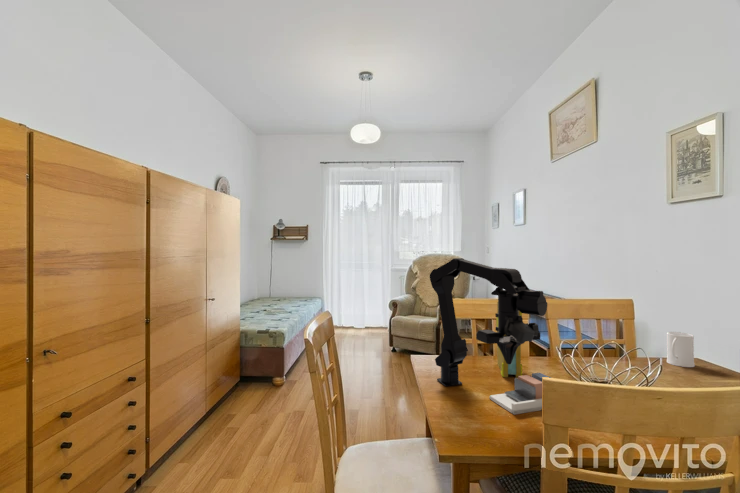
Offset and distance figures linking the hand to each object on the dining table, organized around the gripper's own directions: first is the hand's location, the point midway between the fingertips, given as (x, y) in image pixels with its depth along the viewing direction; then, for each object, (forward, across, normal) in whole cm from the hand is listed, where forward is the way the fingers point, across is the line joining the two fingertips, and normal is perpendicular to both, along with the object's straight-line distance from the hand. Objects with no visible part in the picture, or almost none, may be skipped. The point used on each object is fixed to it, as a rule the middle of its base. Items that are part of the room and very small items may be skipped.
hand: (508, 363), depth 105 cm
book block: (+11, +8, 0) cm, 13 cm away
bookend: (+11, +4, 0) cm, 11 cm away
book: (+12, +20, +26) cm, 35 cm away
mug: (+12, +89, +10) cm, 90 cm away
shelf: (+12, +6, 0) cm, 14 cm away
